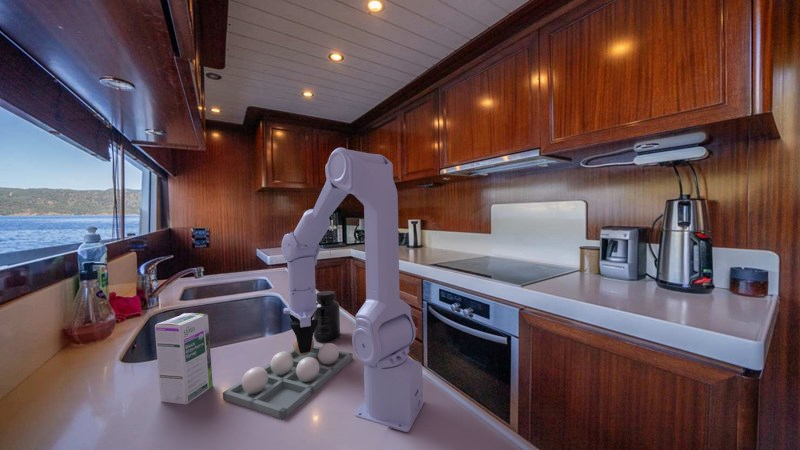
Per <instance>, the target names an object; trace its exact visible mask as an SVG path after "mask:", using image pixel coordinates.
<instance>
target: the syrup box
mask: <svg viewBox="0 0 800 450" xmlns="http://www.w3.org/2000/svg"><path fill="white" fill-rule="evenodd" d="M209 328H210V327H209V315H208V314H207V313H201V312H200V313H198V312H195V313H194V312H189V313H188V312H187V313H186V312H184V313H182V314H180V315H179V316H175V317H172V318H169V319H167V320H164V321H162V322H161V321H160V322H157V323H156V324H155V325H154V332H155V333H154V335H155V346H156V361H157V371H158V372H157V373H158V383H159V397H160V399H159V400H160V402H161V403H162V402H164V403H170V404H171V403H173V404H177V405H178V404H180V405H188V404H190V403H191V402H192V401H194V400H195V399H197V398H198V397H199V396H201V395H202V394H204V393H206V392H207V391H208V390H210V389H211V388H212V387H213V386H214V384H213V373H212V372H213V371H212V370H213V368H212V355H211V341H210V329H209Z"/></svg>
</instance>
